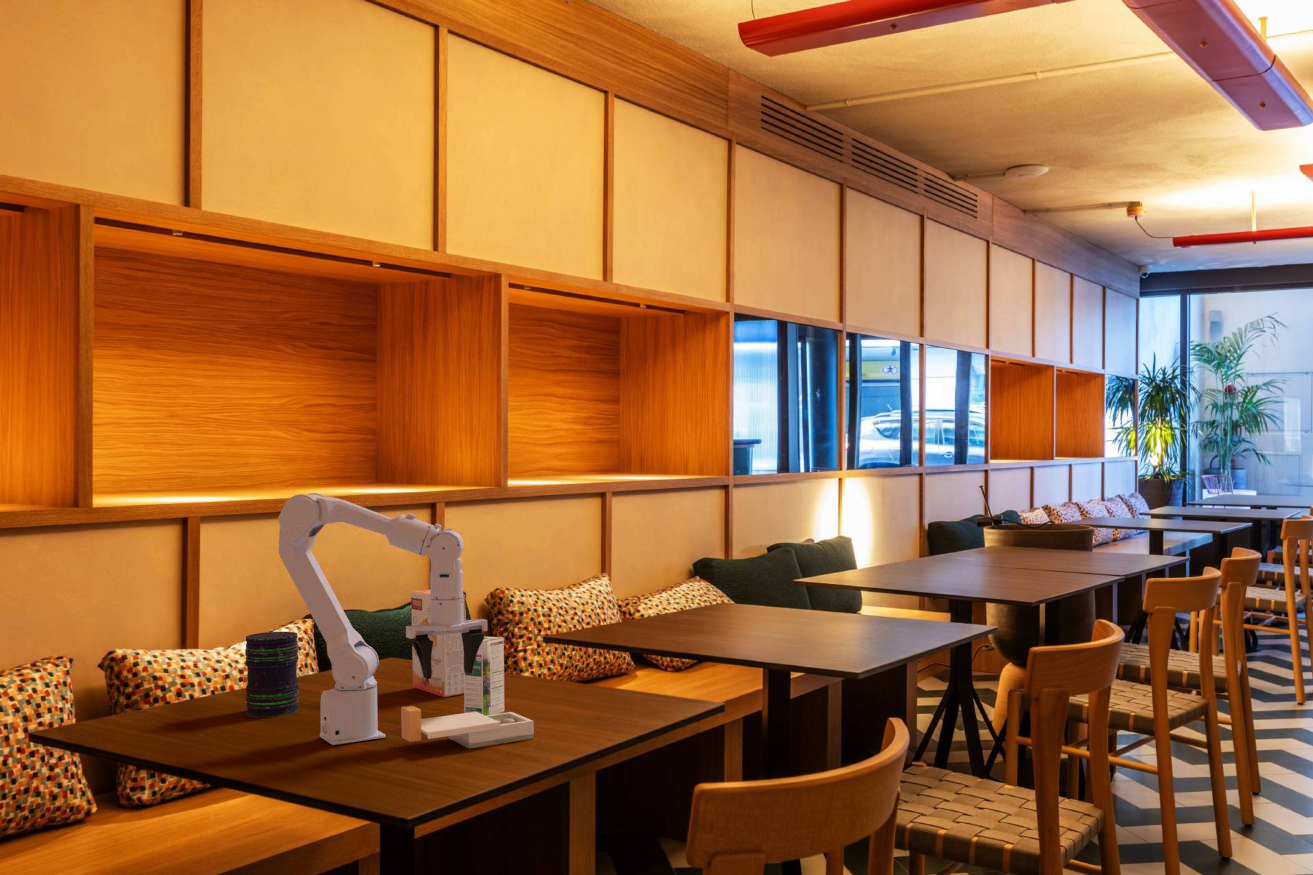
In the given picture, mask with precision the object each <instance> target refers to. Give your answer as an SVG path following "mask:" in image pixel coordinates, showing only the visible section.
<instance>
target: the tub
mask: <svg viewBox="0 0 1313 875" xmlns="http://www.w3.org/2000/svg"><path fill="white" fill-rule="evenodd" d="M486 716H487V717H490V718H492V719H494V720H496V721H499V722H500V728H497V729H491V730H484V731H478V732H471V733H464V734H458V735H451V736H448V739H450V740H451V741H453V742H456V743H458V744H460V745H462V746H463V747H465V748H467V749H476V748H483V747H487V746H488V747H489V746H495V745H501V744H507V743H512V742H520V741H527V740H531V739H534V738H535V729H534V728H535V722H534V720H532V719H530V718H527V717H525V716H522V715H520V714H519V713H515V712H513V711H508V712H502V713H499V714H493V715H486Z"/></svg>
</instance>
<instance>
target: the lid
mask: <svg viewBox="0 0 1313 875" xmlns="http://www.w3.org/2000/svg"><path fill="white" fill-rule="evenodd" d="M400 709H401V710H400V711H401V712H400V713H401V714H400V715H401V724H400V725H401V738H402V739H404V740H405V741H407V742H409V743H411V742H418V741H422V733H423V734H424V735H426V736H427V739H428V740H430V739H437V738H444V737H449V736H451V735H458V734H464V733H471V732H478V731H484V730H491V729H497V728H500V722H499V721H496V720H494V719H492V718H490V717H487V716H485V715H483V714H480V713H478V712H469V713H464V712H463V713H458V714H457V713H455V714H449V715H443V716H435V717H429V718H422V709H421V708H418V707H416V706H414V705H409V706H401V708H400Z"/></svg>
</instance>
